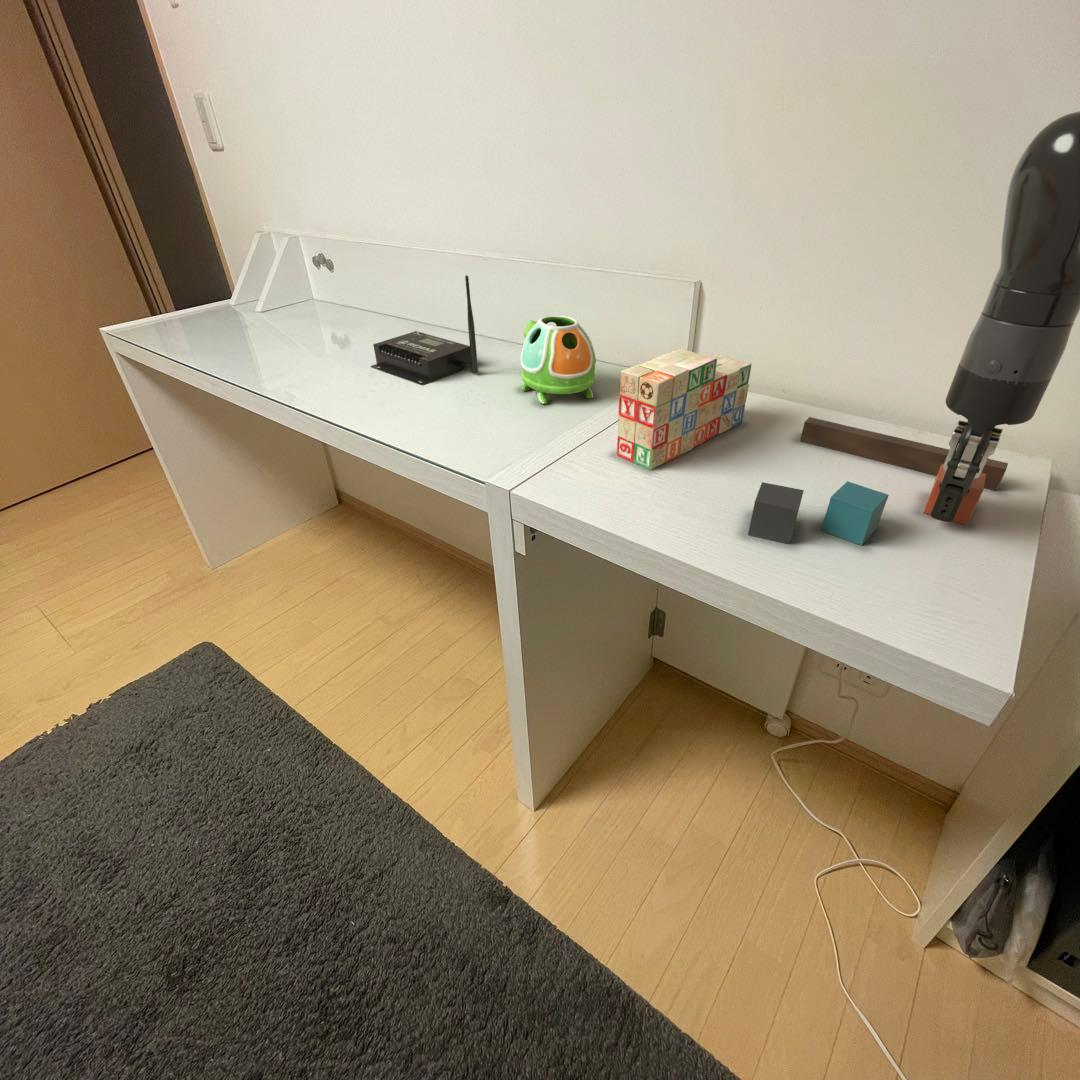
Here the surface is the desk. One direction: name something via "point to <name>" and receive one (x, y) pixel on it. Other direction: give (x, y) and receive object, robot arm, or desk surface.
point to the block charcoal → (775, 512)
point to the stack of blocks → (678, 404)
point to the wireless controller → (427, 354)
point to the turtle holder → (557, 358)
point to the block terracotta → (967, 501)
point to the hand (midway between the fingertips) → (941, 517)
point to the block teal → (854, 512)
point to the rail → (889, 449)
